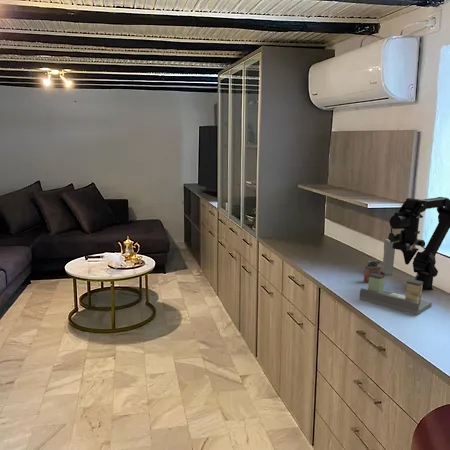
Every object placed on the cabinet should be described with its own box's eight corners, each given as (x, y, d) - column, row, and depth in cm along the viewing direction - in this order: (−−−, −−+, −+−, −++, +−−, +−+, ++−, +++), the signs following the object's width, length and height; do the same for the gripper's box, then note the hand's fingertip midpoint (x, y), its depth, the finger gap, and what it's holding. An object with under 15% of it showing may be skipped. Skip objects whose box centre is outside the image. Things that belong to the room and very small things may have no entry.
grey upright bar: (388, 272, 231) (393, 222, 226) (392, 274, 226) (397, 224, 221) (381, 271, 231) (386, 222, 226) (384, 274, 226) (389, 224, 221)
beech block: (408, 300, 183) (411, 279, 181) (420, 303, 180) (423, 281, 178) (404, 303, 180) (406, 281, 178) (416, 306, 177) (419, 283, 175)
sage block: (371, 293, 190) (373, 272, 188) (382, 296, 187) (384, 275, 185) (366, 295, 187) (368, 274, 185) (378, 298, 184) (380, 277, 182)
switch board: (376, 291, 198) (377, 281, 197) (431, 306, 183) (432, 295, 182) (359, 299, 187) (360, 289, 186) (416, 315, 172) (418, 303, 171)
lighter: (365, 283, 210) (367, 261, 209) (361, 281, 213) (363, 260, 212) (381, 282, 212) (383, 261, 211) (377, 280, 216) (379, 259, 214)
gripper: (402, 224, 208) (398, 258, 211) (382, 227, 195) (378, 263, 198) (427, 227, 200) (423, 263, 203) (408, 231, 188) (403, 268, 190)
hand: (406, 264), depth 198 cm, fingers closed
